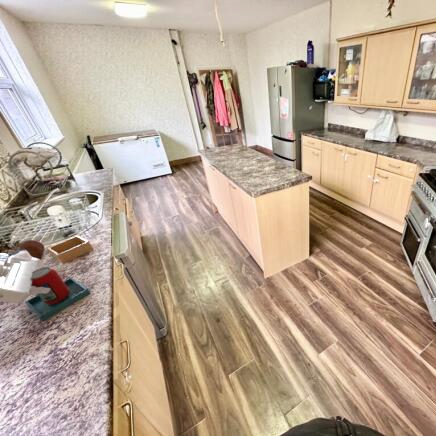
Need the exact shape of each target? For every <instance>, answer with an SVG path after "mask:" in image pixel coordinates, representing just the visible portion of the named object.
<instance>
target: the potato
mask: <svg viewBox="0 0 436 436" xmlns="http://www.w3.org/2000/svg"><path fill="white" fill-rule="evenodd" d="M18 250H27V251H28V252H29V253H30V255H31V256H32V257H33V258H37V259H40V258H41V257H42V256H43V255H44V252H45V245H44V243H42V242H41V241H39V240H36V239H28V240H25V241H23V242H22V243H21V244H20V246H19V249H18Z"/></svg>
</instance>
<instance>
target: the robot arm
mask: <svg viewBox="0 0 436 436" xmlns="http://www.w3.org/2000/svg"><path fill="white" fill-rule="evenodd" d="M8 254H9V253H8ZM8 254H7V253H3V252H1V253H0V302H2V303H3V302H4V303H10V304H21V303H25V300H26V299H27V297H28V296H30V295H31V296H33V295H38V293H45V294H47V293H48V292H49V291H50V287H49V286H43V287H36V286H31V285H32V281H33V280H32V279H30V278H31V277H32V274H33V273H32V272H34V271H35V270H38V269H36V268H37V264H38V262H36V261H34V260H31V259H26V258H21V257H15V256H11V257H8V256H9V255H8Z"/></svg>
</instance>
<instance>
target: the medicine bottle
mask: <svg viewBox="0 0 436 436" xmlns="http://www.w3.org/2000/svg"><path fill="white" fill-rule="evenodd" d="M8 255H9V256H8V257H11V256H15V257H21V258H26V259H31V260H34V261H36V262H38V264H37V268H36V269H40V268H44V267H46V265H45V264H44V263H43V261H41V259H40V258H39V259H37V258H33V257H32V256H31V255H30V253H29V252H28V251H27V250H19V249H17V250H14V251H12V252H10V253H8Z"/></svg>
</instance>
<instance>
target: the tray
mask: <svg viewBox="0 0 436 436" xmlns="http://www.w3.org/2000/svg"><path fill="white" fill-rule="evenodd" d="M63 282H64V283H65V284H66V286H67V287H68V289H69V290H70V294H69V295H68V296H67V297H66V298H65V299H64V300H63V301H61V302H59V303H56V304H46V303H45V302H44V301H43V300H42V299H41V298H40V296H39V295H38V294H36V295H35V296H33V297H31V298H29V299H27V300H26V301H24V304H25V305H26V306H27V307H28V308H29V309H30V310H31V311H32V312H33V314H34V315H35V316H36V317H37V318H39V320H40V321H41V322H42V323H44V322H46V320H49V319H50V318H52V317H54V316H55V315H57V314H58V313H60V312H62V311H63V310H65V309H66V308H69V307H70V306H72V305H74V304H76V303H77V302H78V301H80V300H82V299H83V298H85V297H87V296H88V295H90V294H91V291H90V290H89V288H87V287H86V286H84V285H83V284H82V283H81V282H79V281H77V279H75V278H73V277H72V276H71V277H69V278H67V279H65V280H63Z"/></svg>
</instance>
